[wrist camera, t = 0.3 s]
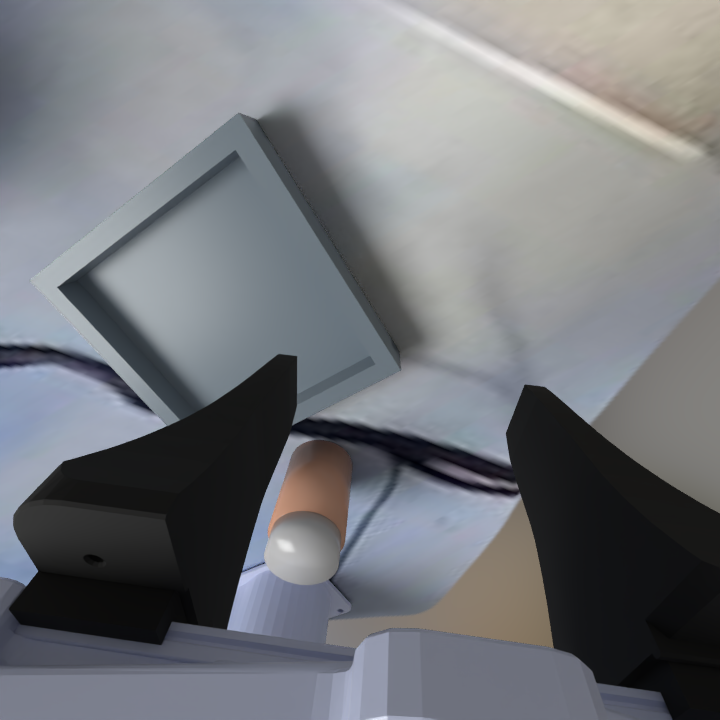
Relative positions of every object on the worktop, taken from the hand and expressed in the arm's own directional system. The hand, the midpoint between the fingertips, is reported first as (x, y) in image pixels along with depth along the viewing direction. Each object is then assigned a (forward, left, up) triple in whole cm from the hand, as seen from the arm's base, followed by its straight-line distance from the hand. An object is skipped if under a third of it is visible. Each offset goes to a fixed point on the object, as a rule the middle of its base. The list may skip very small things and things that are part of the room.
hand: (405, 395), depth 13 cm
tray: (-8, +4, -11) cm, 14 cm away
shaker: (-10, -8, -11) cm, 17 cm away
